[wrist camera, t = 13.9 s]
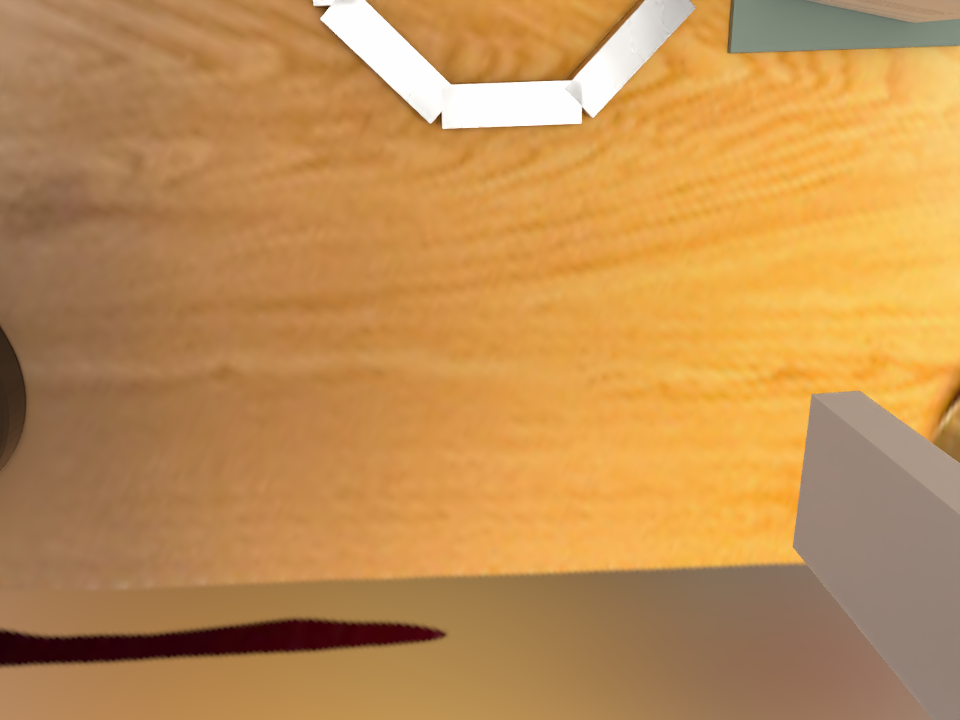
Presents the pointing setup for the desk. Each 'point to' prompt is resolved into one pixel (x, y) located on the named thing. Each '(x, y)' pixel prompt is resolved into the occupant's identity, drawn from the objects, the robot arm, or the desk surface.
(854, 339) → the desk surface
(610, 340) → the desk surface
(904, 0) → the supplement box
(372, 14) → the socket collar
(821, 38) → the felt pad
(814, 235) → the desk surface
